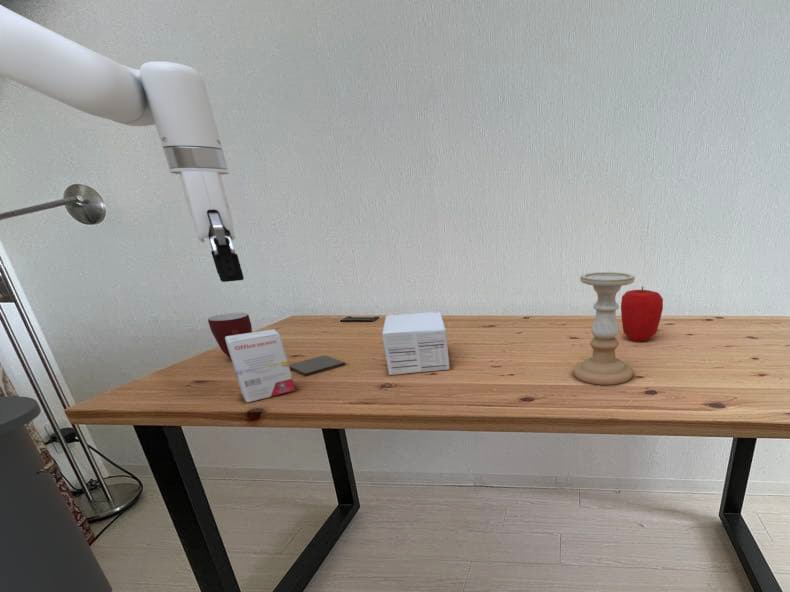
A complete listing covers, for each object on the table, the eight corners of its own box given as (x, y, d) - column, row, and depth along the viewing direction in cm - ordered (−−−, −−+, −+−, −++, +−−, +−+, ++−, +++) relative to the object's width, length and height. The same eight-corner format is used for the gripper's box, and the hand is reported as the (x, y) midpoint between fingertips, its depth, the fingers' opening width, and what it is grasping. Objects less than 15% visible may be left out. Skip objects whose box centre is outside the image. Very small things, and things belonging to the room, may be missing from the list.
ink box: (291, 384, 92) (276, 327, 88) (296, 392, 89) (281, 333, 84) (241, 395, 88) (223, 335, 83) (245, 403, 84) (226, 341, 79)
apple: (667, 340, 118) (673, 287, 112) (637, 346, 113) (641, 291, 107) (640, 331, 126) (644, 281, 120) (610, 337, 121) (613, 285, 116)
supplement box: (391, 352, 111) (385, 314, 108) (445, 348, 114) (441, 311, 110) (387, 375, 96) (380, 332, 93) (450, 369, 99) (446, 327, 96)
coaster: (306, 375, 97) (305, 373, 97) (286, 367, 102) (286, 365, 102) (345, 364, 103) (344, 362, 103) (325, 357, 109) (324, 355, 108)
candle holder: (574, 385, 90) (576, 281, 82) (572, 365, 101) (574, 271, 93) (637, 385, 89) (645, 280, 81) (628, 365, 101) (635, 271, 92)
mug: (268, 359, 108) (257, 317, 104) (230, 367, 103) (216, 324, 99) (253, 350, 115) (241, 311, 110) (216, 358, 109) (203, 317, 105)
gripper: (169, 166, 74) (202, 274, 81) (164, 157, 61) (205, 286, 68) (223, 167, 78) (251, 270, 85) (229, 159, 65) (261, 281, 72)
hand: (230, 277), depth 77 cm, fingers open, 9 cm apart
